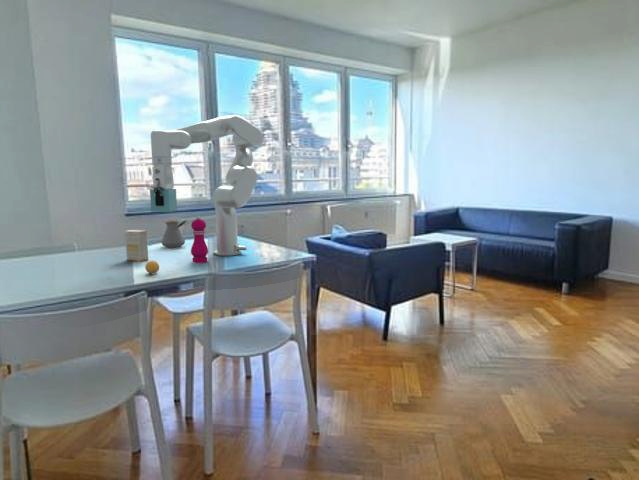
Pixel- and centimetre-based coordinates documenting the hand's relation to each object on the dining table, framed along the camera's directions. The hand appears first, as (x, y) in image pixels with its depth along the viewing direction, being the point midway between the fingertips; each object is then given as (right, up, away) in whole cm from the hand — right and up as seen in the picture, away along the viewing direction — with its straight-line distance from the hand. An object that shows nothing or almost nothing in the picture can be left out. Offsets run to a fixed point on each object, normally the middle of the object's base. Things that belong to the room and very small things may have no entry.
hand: (164, 204), depth 190 cm
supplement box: (-15, -23, +12) cm, 30 cm away
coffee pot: (-7, -19, +40) cm, 45 cm away
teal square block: (0, -2, 0) cm, 3 cm away
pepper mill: (+13, -24, +9) cm, 29 cm away
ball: (0, -25, -13) cm, 28 cm away
